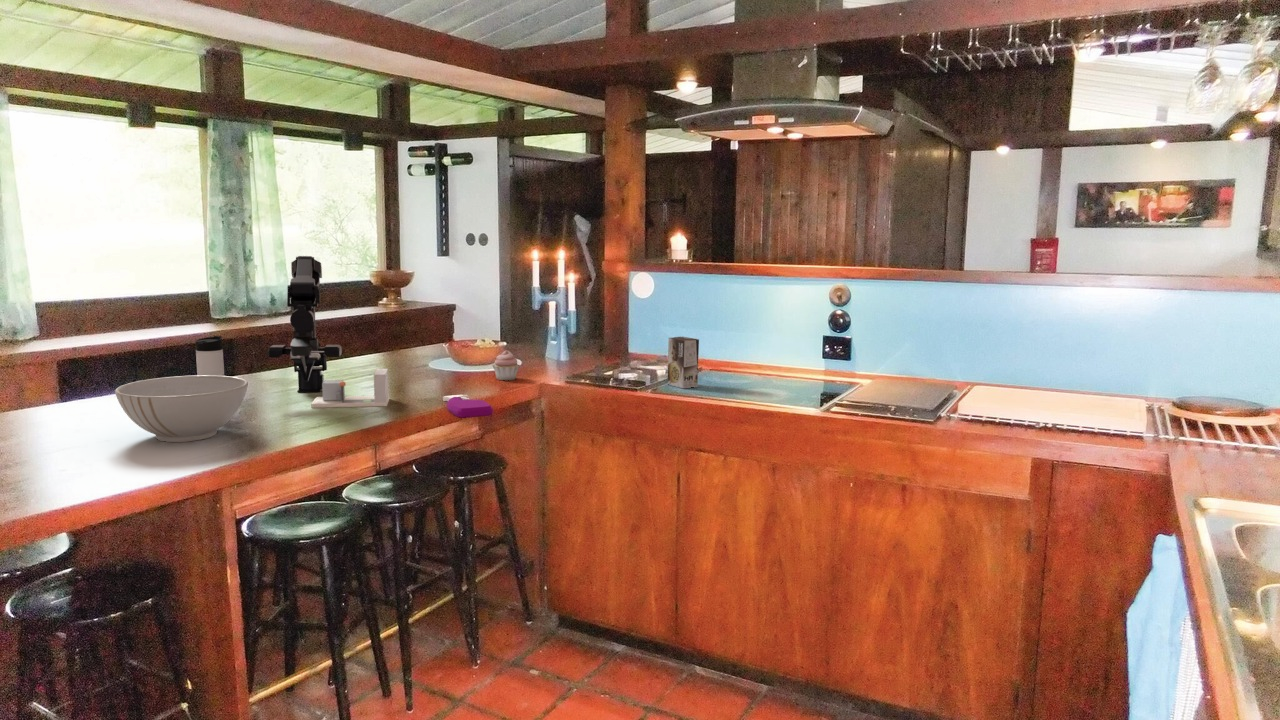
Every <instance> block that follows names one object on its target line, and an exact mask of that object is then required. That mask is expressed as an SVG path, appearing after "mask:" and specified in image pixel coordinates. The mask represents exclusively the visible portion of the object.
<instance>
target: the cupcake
mask: <svg viewBox="0 0 1280 720" xmlns="http://www.w3.org/2000/svg"><path fill="white" fill-rule="evenodd" d="M495 358H496V359H495V360H494V364H491V366H492V368H493V369H494V372H495V377H496V379H497V380H498V381H503V380H505V381H508V380H509V381H514V380H516V378H517V374H518V372H519V371H518V370H519V368H520V366H521V364H518V359H517V358H516V357H515V356H514V354H513V353H512V352H511V351H509V350H507V349H505V350H504V351H503V352H502V353H501V354H499V355H497V356H496V357H495Z"/></svg>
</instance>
